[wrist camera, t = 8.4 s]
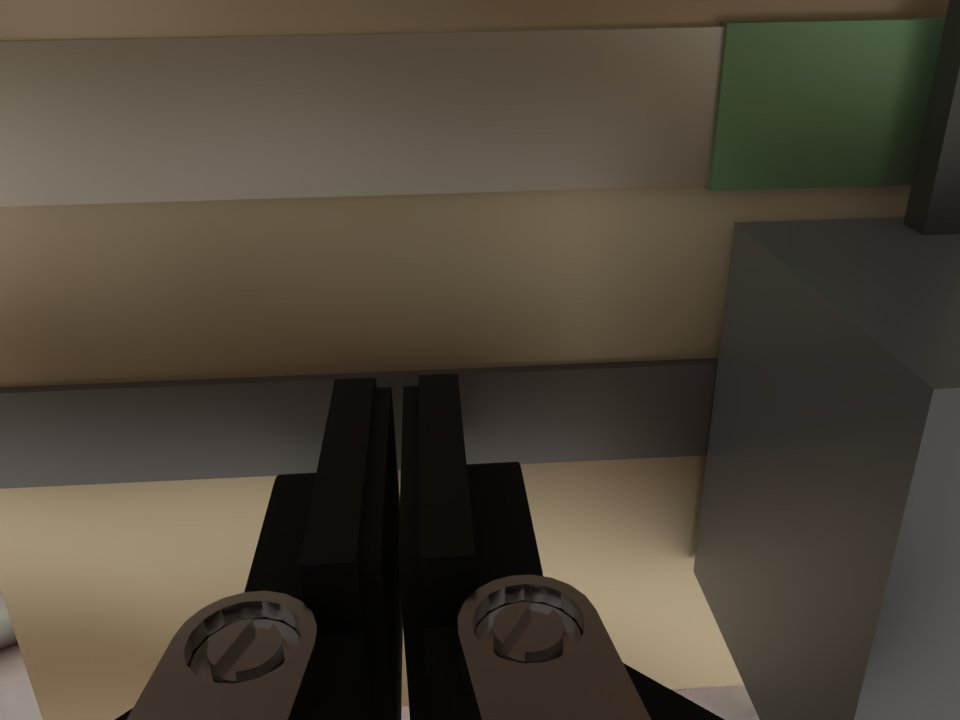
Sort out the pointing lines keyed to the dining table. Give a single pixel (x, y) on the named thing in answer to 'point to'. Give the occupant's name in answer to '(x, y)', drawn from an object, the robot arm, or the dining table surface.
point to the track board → (397, 276)
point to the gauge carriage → (844, 450)
